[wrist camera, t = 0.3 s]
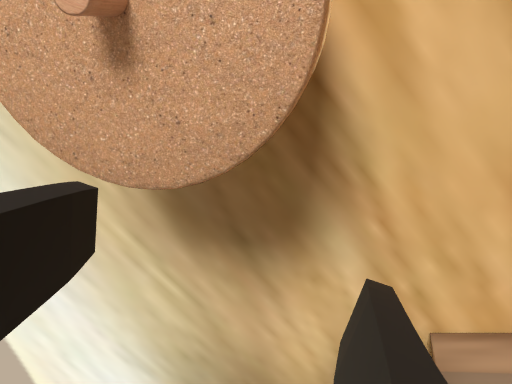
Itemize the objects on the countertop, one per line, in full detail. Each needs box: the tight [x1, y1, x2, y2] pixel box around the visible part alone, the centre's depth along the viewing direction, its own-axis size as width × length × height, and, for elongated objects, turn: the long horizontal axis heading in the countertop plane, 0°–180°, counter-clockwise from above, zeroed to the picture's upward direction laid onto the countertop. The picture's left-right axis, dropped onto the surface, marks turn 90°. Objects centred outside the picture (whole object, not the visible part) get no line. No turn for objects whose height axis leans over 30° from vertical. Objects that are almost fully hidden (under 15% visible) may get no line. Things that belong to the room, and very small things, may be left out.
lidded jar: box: [0, 0, 332, 190], centre depth 13 cm, size 11×11×9 cm
